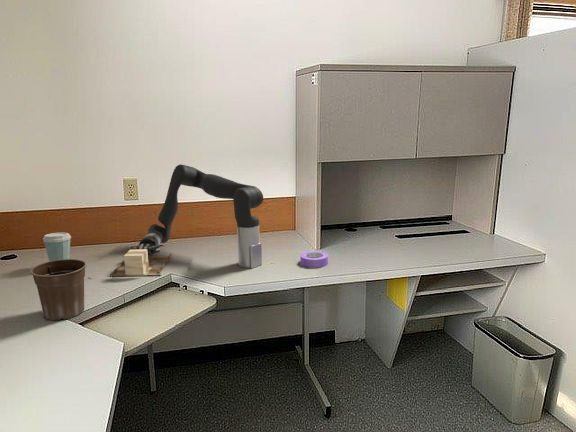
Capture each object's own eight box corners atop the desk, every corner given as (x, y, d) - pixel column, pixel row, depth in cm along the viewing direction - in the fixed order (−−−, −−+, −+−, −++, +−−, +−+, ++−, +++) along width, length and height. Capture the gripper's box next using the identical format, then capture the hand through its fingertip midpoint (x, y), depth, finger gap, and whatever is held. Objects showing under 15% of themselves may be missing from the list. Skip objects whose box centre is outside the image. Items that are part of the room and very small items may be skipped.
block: (131, 268, 191) (129, 249, 189) (148, 267, 191) (147, 249, 189) (125, 275, 183) (123, 255, 181) (143, 274, 183) (141, 255, 181)
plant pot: (102, 305, 158) (97, 260, 154) (68, 326, 143) (61, 277, 139) (62, 300, 162) (56, 257, 159) (25, 321, 147) (18, 273, 144)
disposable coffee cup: (48, 265, 199) (43, 231, 196) (75, 262, 203) (71, 229, 200) (45, 273, 190) (40, 238, 186) (74, 269, 193) (69, 235, 190)
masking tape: (305, 269, 190) (305, 260, 189) (297, 260, 201) (297, 252, 200) (331, 266, 193) (332, 257, 192) (322, 258, 204) (322, 249, 203)
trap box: (129, 258, 206) (128, 254, 206) (172, 257, 207) (171, 253, 206) (111, 277, 184) (111, 272, 183) (160, 276, 184) (159, 271, 184)
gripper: (134, 235, 205) (122, 247, 188) (164, 234, 206) (154, 246, 189) (136, 251, 207) (123, 264, 190) (165, 251, 207) (156, 263, 191)
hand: (139, 255), depth 190 cm, fingers closed
